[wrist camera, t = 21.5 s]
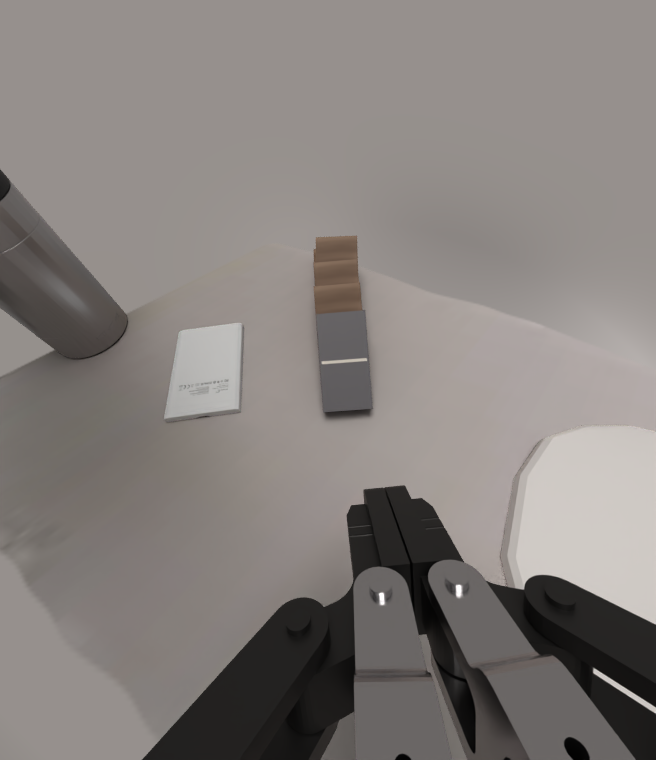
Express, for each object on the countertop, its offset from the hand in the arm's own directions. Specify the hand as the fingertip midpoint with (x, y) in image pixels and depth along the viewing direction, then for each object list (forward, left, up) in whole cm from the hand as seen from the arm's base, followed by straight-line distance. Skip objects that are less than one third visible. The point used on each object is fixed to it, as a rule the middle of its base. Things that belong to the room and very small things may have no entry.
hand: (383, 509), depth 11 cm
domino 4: (-4, +12, -17) cm, 21 cm away
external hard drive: (-22, +13, -19) cm, 32 cm away
